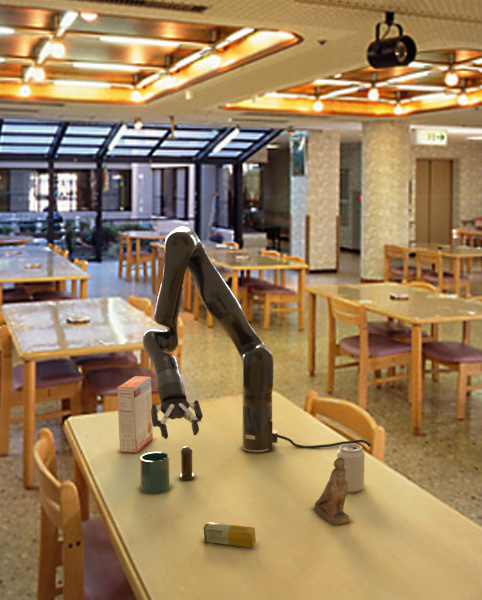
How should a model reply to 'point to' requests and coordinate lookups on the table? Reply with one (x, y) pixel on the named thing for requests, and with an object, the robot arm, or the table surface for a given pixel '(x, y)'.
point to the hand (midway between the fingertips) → (181, 435)
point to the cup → (154, 472)
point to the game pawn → (186, 464)
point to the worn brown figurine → (334, 496)
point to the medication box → (229, 534)
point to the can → (353, 466)
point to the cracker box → (135, 414)
